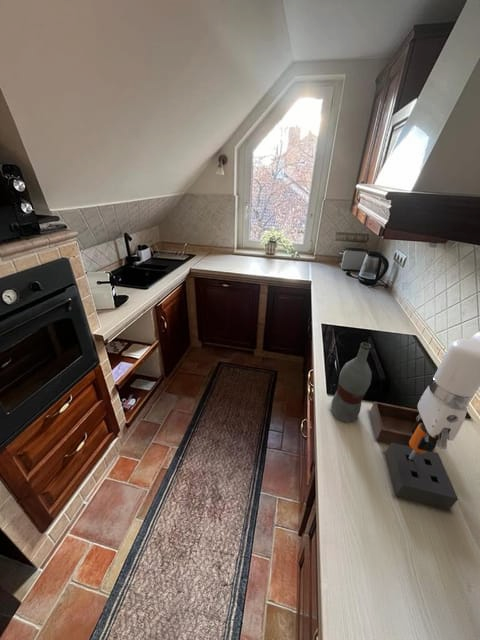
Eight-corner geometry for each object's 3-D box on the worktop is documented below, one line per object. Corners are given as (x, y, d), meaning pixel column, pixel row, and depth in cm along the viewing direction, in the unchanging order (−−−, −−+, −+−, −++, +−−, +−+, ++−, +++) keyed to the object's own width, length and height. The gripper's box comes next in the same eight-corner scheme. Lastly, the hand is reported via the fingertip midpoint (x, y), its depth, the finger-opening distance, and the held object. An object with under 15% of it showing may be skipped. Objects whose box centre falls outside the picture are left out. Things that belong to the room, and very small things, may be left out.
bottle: (329, 420, 88) (350, 350, 72) (329, 400, 95) (348, 333, 80) (358, 427, 85) (386, 356, 70) (356, 406, 93) (380, 339, 78)
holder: (429, 465, 75) (438, 452, 72) (447, 511, 64) (458, 499, 61) (384, 454, 77) (390, 442, 74) (395, 497, 67) (403, 485, 64)
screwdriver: (415, 453, 72) (434, 423, 65) (420, 467, 68) (440, 436, 62) (400, 450, 72) (417, 419, 66) (404, 463, 69) (422, 432, 62)
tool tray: (417, 422, 87) (424, 411, 84) (430, 453, 78) (438, 441, 75) (369, 412, 91) (374, 401, 88) (375, 441, 81) (381, 429, 78)
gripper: (491, 424, 49) (451, 476, 58) (452, 369, 63) (425, 418, 73) (447, 416, 51) (415, 468, 60) (419, 364, 65) (396, 413, 74)
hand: (421, 440), depth 66 cm, fingers closed on screwdriver, 4 cm apart
